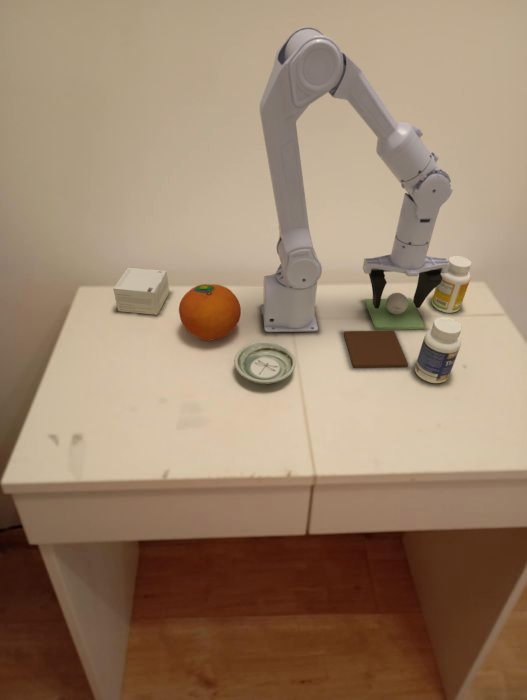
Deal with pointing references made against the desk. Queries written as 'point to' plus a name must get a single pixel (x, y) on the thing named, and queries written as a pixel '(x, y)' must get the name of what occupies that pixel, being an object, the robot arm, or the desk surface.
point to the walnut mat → (374, 349)
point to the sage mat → (394, 317)
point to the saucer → (265, 362)
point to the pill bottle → (439, 350)
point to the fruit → (209, 311)
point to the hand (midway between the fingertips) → (396, 305)
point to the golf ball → (396, 303)
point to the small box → (141, 291)
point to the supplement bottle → (453, 285)
